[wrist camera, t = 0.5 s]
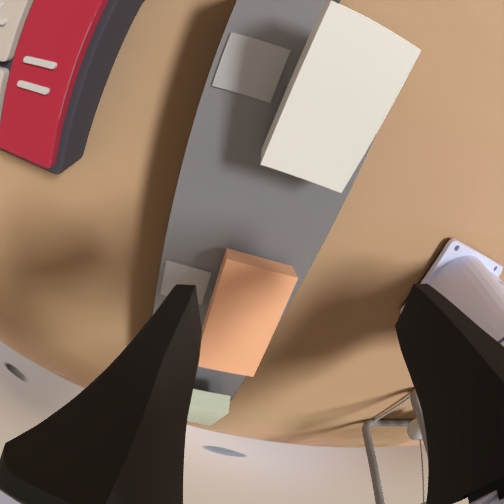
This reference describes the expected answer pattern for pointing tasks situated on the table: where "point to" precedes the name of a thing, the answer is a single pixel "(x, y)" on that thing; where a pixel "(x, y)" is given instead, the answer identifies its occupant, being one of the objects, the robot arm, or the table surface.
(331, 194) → the power strip
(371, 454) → the newton's cradle
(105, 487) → the robot arm
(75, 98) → the calculator
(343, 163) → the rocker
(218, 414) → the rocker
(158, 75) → the table surface
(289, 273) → the rocker middle
